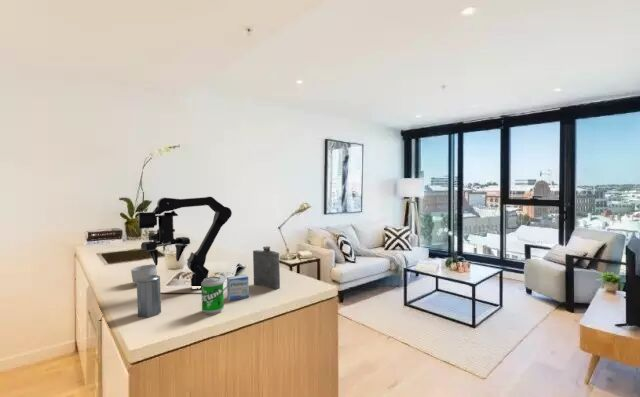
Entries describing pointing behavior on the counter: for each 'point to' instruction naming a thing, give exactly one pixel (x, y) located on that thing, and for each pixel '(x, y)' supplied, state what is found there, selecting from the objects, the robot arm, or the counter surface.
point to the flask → (266, 268)
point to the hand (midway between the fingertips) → (167, 263)
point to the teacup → (143, 271)
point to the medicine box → (237, 287)
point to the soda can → (212, 295)
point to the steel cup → (148, 296)
